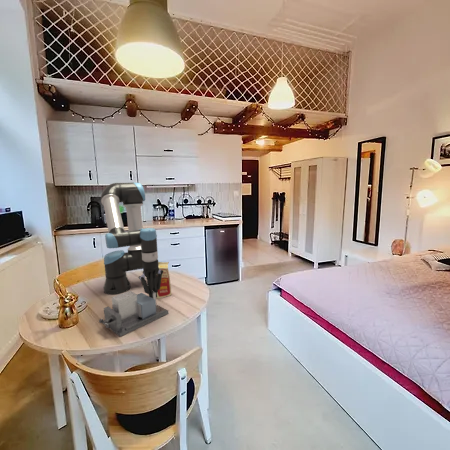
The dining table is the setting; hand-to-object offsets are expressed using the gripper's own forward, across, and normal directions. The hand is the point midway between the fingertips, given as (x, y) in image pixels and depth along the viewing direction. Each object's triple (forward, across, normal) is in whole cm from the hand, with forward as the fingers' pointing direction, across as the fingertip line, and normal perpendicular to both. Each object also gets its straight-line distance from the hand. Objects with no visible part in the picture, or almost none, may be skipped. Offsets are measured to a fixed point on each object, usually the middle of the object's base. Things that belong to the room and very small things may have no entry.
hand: (153, 304), depth 130 cm
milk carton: (+4, +15, +13) cm, 20 cm away
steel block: (+2, -15, 0) cm, 15 cm away
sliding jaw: (+1, -6, 0) cm, 7 cm away
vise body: (+3, -11, 0) cm, 12 cm away
